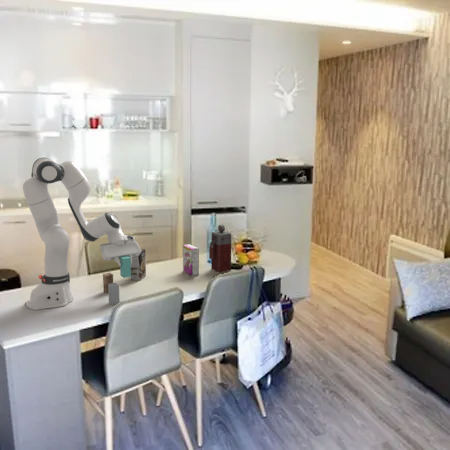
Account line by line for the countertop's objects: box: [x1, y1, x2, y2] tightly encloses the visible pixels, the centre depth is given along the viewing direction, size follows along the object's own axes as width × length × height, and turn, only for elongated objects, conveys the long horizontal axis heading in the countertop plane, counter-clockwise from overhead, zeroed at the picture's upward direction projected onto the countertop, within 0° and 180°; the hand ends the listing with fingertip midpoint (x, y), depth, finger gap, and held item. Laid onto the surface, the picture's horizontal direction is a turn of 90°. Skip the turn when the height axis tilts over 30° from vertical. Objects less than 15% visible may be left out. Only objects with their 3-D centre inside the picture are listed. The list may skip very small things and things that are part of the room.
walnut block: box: [102, 272, 114, 295], centre depth 272 cm, size 4×4×10 cm
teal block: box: [119, 256, 131, 279], centre depth 263 cm, size 4×4×10 cm
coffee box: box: [130, 248, 147, 281], centre depth 296 cm, size 9×6×16 cm
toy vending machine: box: [208, 224, 232, 273], centre depth 311 cm, size 9×11×28 cm
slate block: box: [108, 282, 121, 306], centre depth 256 cm, size 4×4×10 cm
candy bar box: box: [182, 243, 200, 277], centre depth 305 cm, size 11×5×16 cm, turn 34°
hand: (125, 264), depth 262 cm, fingers closed on teal block, 4 cm apart
